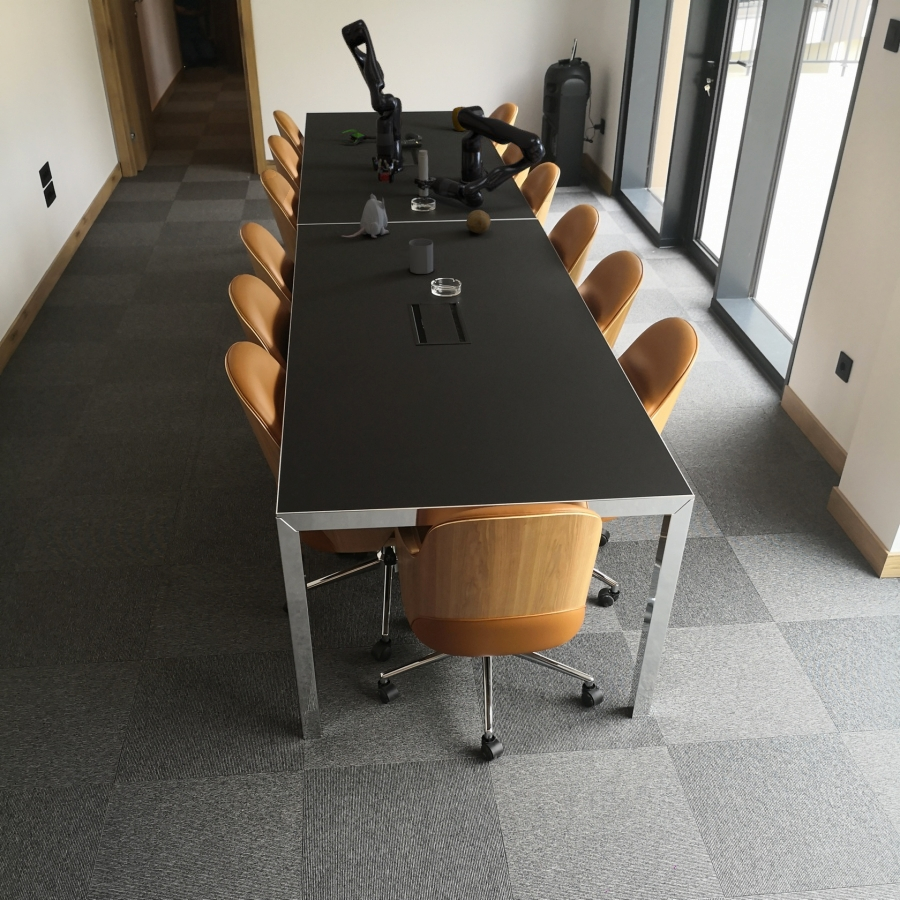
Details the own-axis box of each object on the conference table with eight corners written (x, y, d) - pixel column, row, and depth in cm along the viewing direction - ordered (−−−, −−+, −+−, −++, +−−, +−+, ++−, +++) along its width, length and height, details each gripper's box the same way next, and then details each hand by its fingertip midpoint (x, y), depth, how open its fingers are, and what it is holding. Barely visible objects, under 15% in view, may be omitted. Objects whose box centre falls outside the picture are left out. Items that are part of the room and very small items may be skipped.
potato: (488, 225, 349) (488, 206, 345) (492, 237, 337) (492, 217, 333) (464, 226, 348) (464, 206, 344) (467, 238, 337) (467, 217, 332)
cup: (409, 265, 311) (408, 238, 306) (432, 265, 312) (431, 238, 307) (410, 274, 304) (409, 246, 299) (433, 273, 305) (433, 246, 299)
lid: (380, 181, 385) (380, 176, 383) (380, 178, 389) (379, 173, 388) (391, 181, 385) (391, 176, 384) (391, 178, 389) (391, 173, 388)
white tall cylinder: (430, 194, 386) (429, 150, 376) (425, 196, 383) (425, 152, 373) (421, 193, 388) (421, 149, 377) (417, 195, 385) (416, 151, 374)
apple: (471, 132, 486) (471, 108, 479) (451, 132, 486) (451, 108, 479) (470, 128, 495) (471, 104, 488) (452, 128, 495) (452, 104, 488)
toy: (394, 233, 341) (393, 195, 333) (349, 248, 327) (347, 208, 319) (379, 228, 347) (377, 190, 338) (334, 242, 332) (331, 203, 324)
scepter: (396, 126, 467) (340, 124, 465) (396, 141, 460) (339, 139, 458) (396, 135, 472) (341, 133, 470) (396, 151, 465) (340, 148, 463)
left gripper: (366, 142, 379) (368, 181, 388) (393, 146, 373) (394, 186, 382) (377, 139, 385) (378, 177, 394) (403, 143, 378) (404, 182, 387)
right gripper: (433, 199, 371) (407, 191, 382) (457, 193, 380) (431, 185, 390) (433, 182, 367) (406, 174, 378) (457, 175, 376) (430, 168, 386)
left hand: (386, 181), depth 388 cm, fingers closed on lid, 5 cm apart
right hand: (419, 179), depth 384 cm, fingers closed on white tall cylinder, 4 cm apart
